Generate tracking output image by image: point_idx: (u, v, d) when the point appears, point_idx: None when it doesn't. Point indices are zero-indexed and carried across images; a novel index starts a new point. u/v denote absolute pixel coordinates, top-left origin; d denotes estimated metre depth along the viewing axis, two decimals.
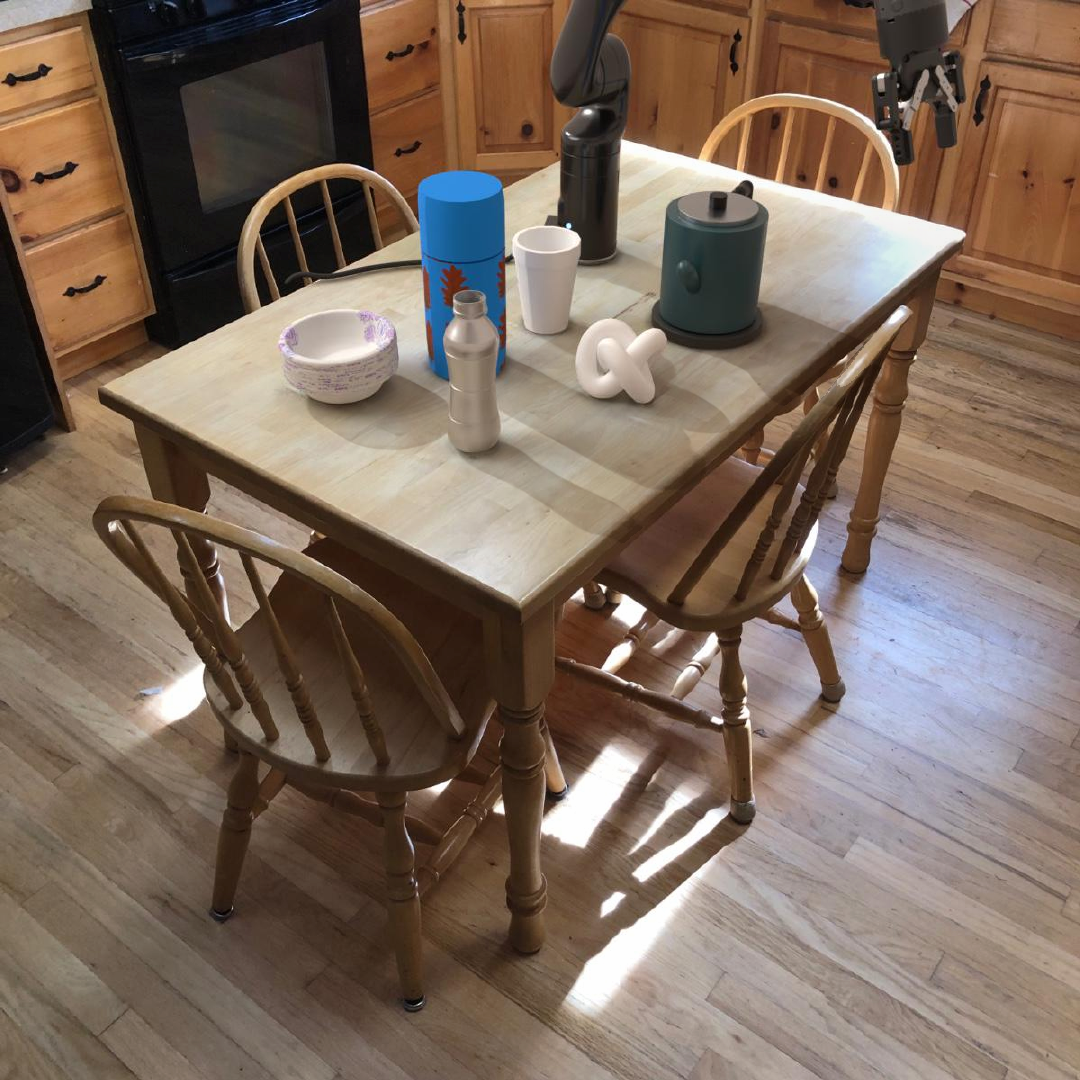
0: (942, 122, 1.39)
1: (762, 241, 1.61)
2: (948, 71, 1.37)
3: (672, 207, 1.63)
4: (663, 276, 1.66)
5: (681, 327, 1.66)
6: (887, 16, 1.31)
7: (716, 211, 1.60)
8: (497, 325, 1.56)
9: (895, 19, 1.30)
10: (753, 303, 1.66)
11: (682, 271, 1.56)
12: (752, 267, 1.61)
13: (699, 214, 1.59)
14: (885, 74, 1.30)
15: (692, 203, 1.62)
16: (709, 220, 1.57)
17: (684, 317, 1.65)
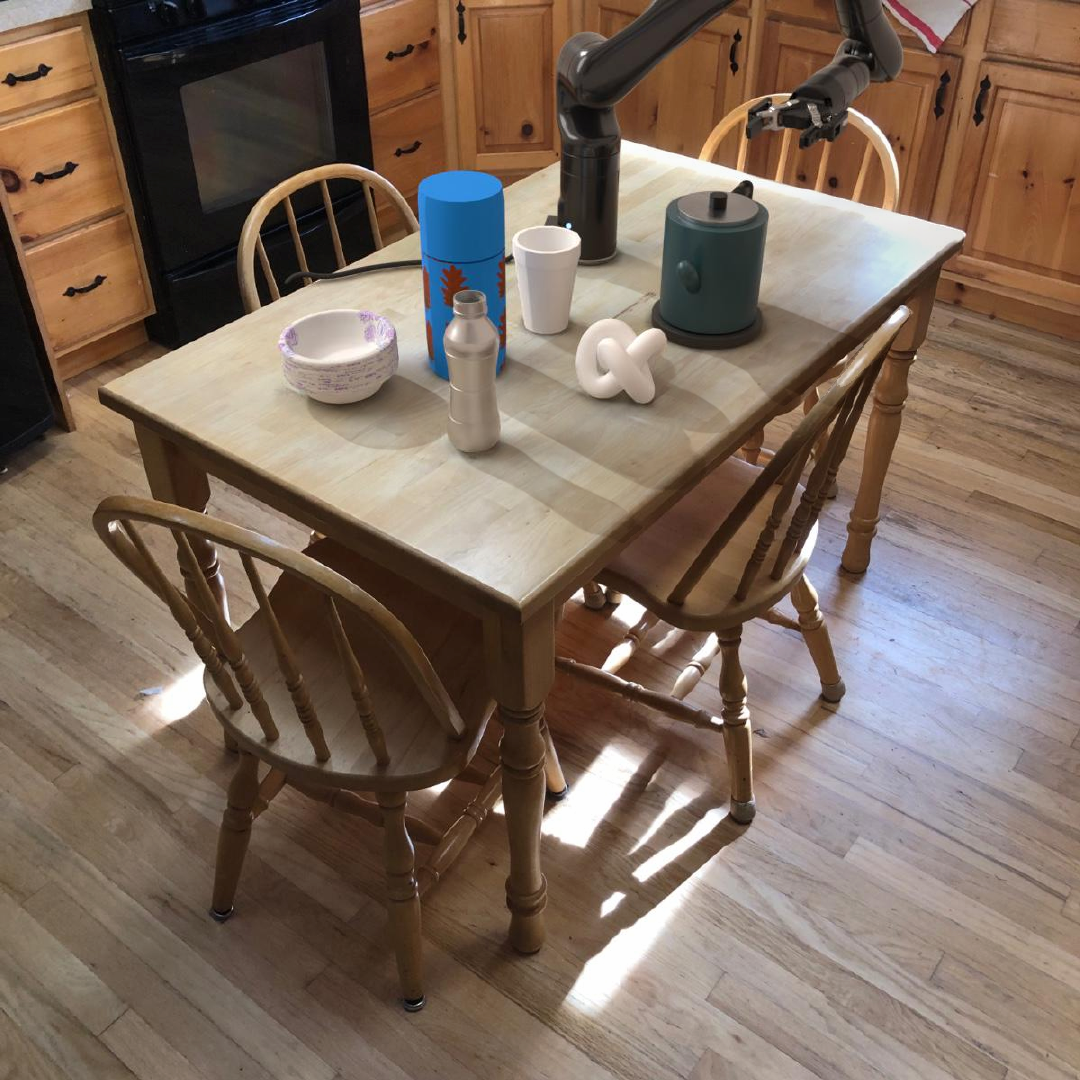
0: (760, 125, 1.77)
1: (762, 241, 1.61)
2: None
3: (672, 207, 1.63)
4: (663, 276, 1.66)
5: (681, 327, 1.66)
6: (845, 99, 1.80)
7: (716, 211, 1.60)
8: (497, 325, 1.56)
9: (843, 106, 1.81)
10: (753, 303, 1.66)
11: (682, 271, 1.56)
12: (752, 267, 1.61)
13: (699, 214, 1.59)
14: (846, 122, 1.76)
15: (692, 203, 1.62)
16: (709, 220, 1.57)
17: (684, 317, 1.65)
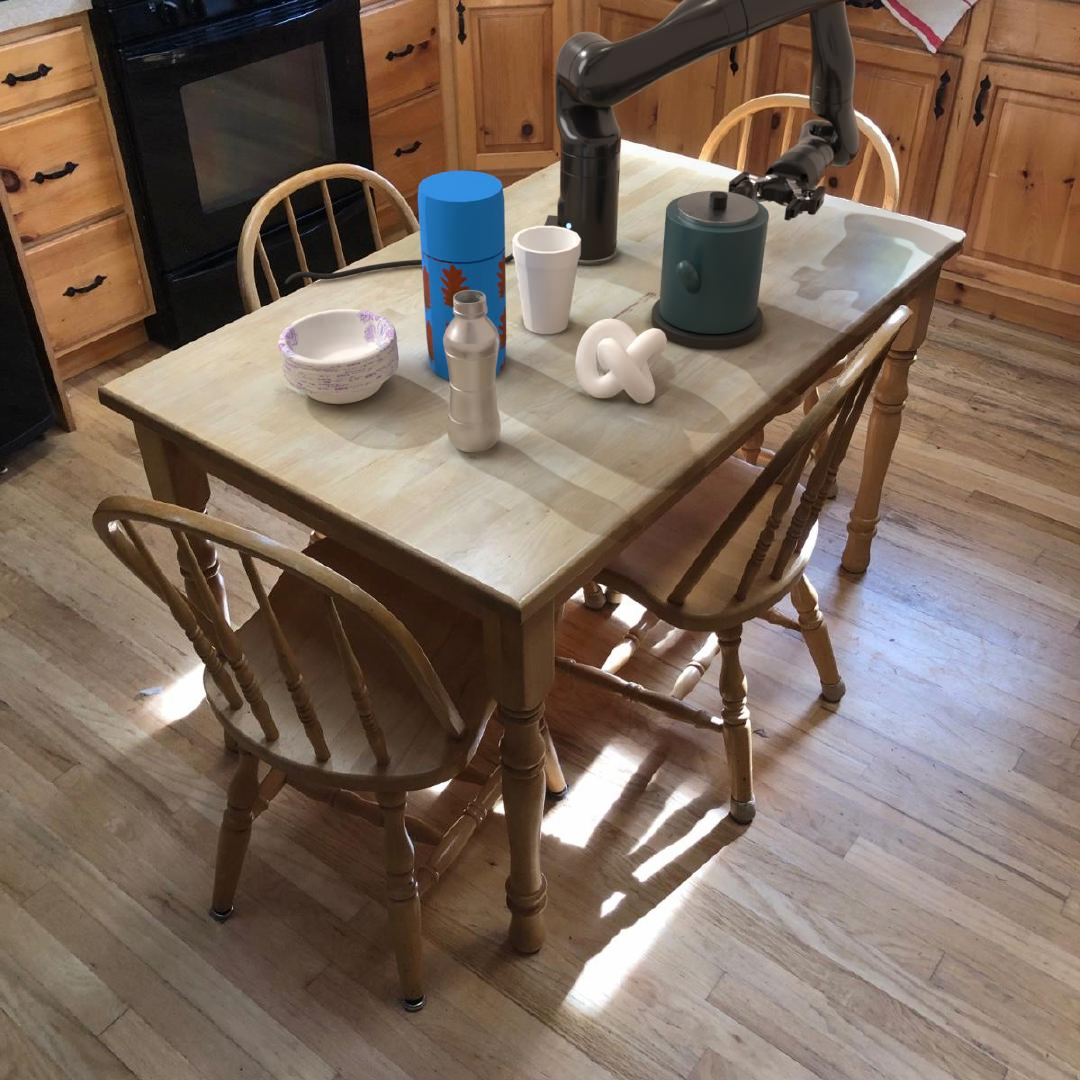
0: None
1: (762, 241, 1.61)
2: None
3: (672, 207, 1.63)
4: (663, 276, 1.66)
5: (681, 327, 1.66)
6: (817, 176, 1.88)
7: (716, 211, 1.60)
8: (497, 325, 1.56)
9: (815, 183, 1.89)
10: (753, 303, 1.66)
11: (682, 271, 1.56)
12: (752, 267, 1.61)
13: (699, 214, 1.59)
14: None
15: (692, 203, 1.62)
16: (709, 220, 1.57)
17: (684, 317, 1.65)
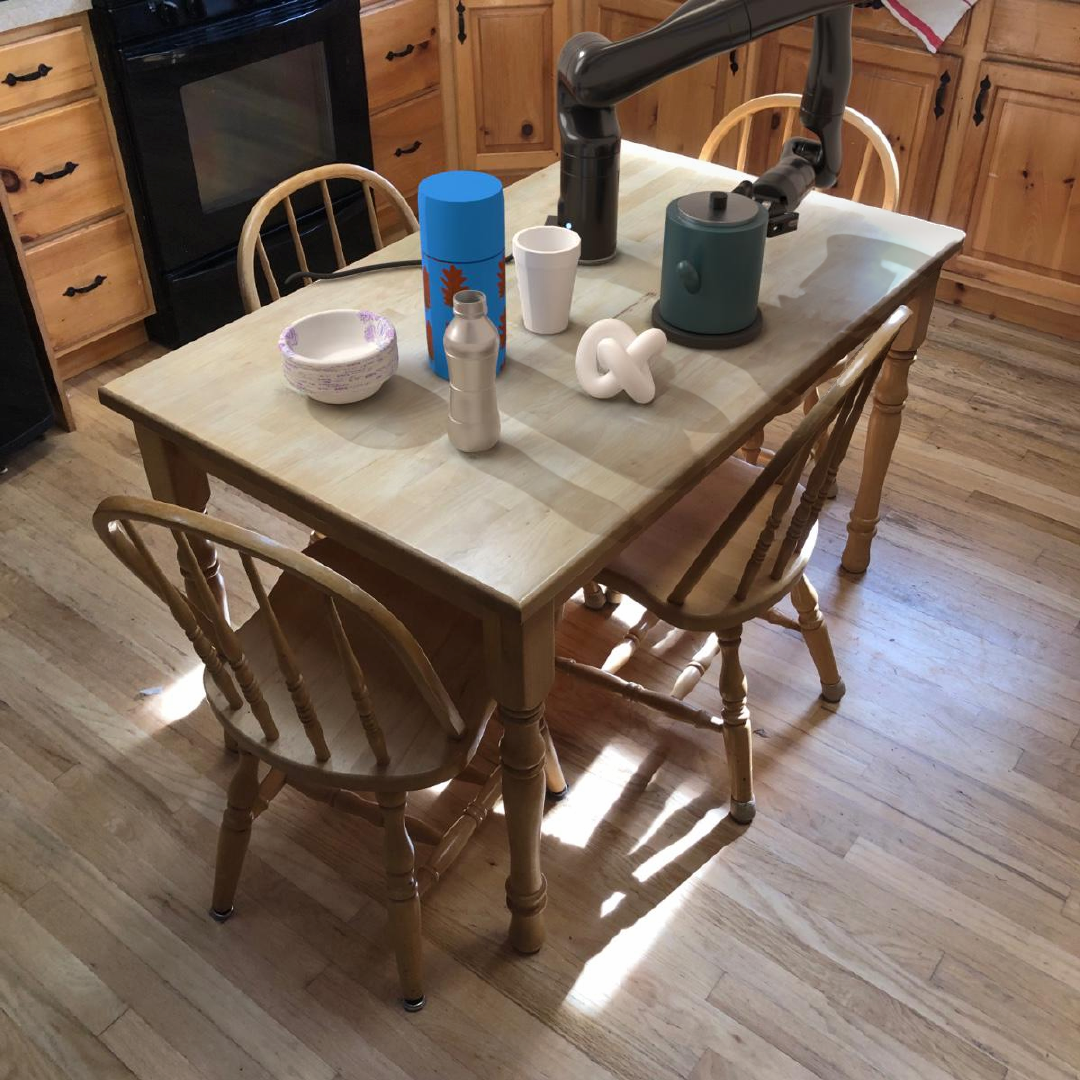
0: None
1: (762, 241, 1.61)
2: None
3: (672, 207, 1.63)
4: (663, 276, 1.66)
5: (681, 327, 1.66)
6: (798, 198, 1.81)
7: (716, 211, 1.60)
8: (497, 325, 1.56)
9: (795, 205, 1.82)
10: (753, 303, 1.66)
11: (682, 271, 1.56)
12: (752, 267, 1.61)
13: (699, 214, 1.59)
14: (797, 225, 1.76)
15: (692, 203, 1.62)
16: (709, 220, 1.57)
17: (684, 317, 1.65)
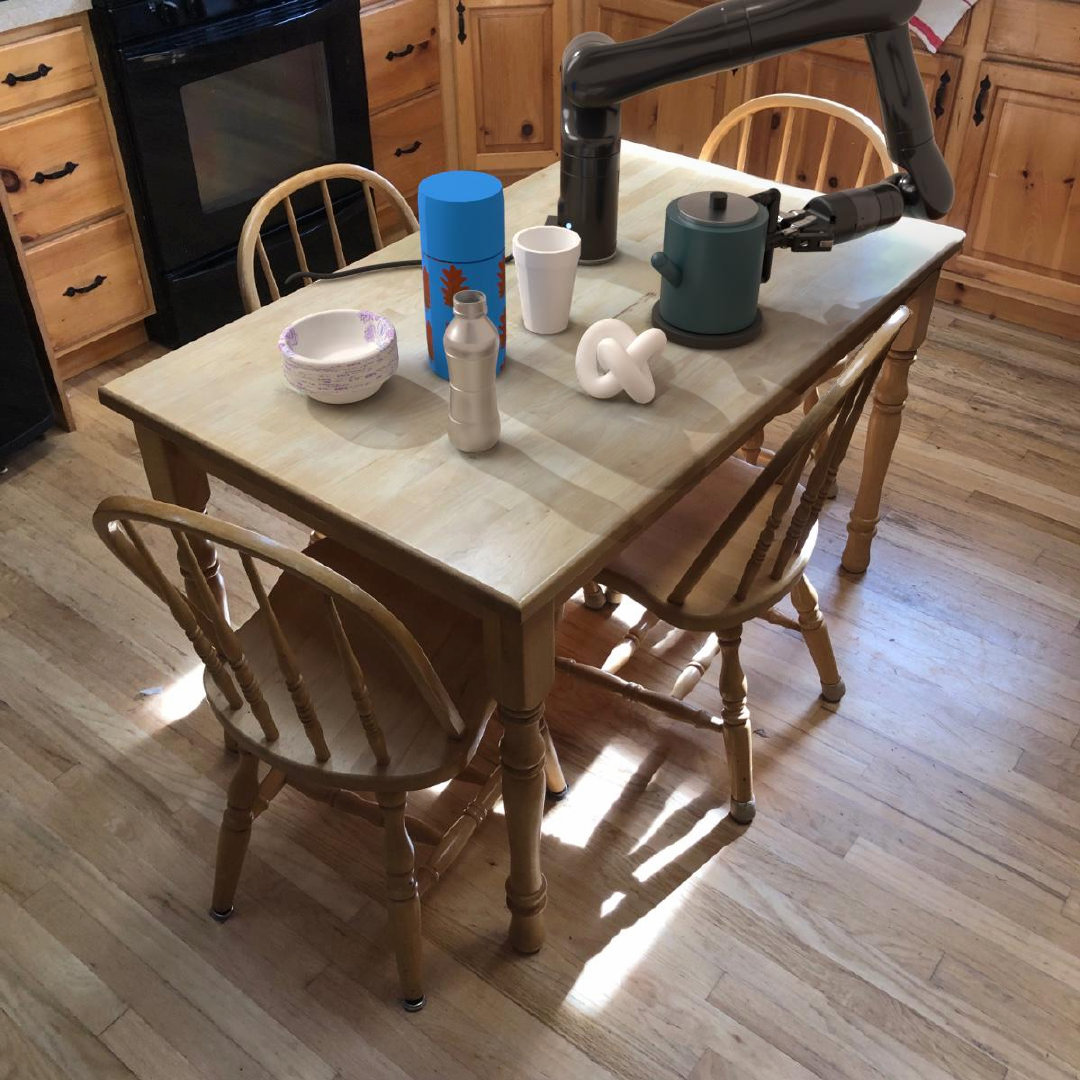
0: None
1: (750, 247, 1.59)
2: None
3: (678, 200, 1.65)
4: None
5: (666, 320, 1.68)
6: (858, 223, 1.74)
7: (710, 210, 1.60)
8: (497, 325, 1.56)
9: (854, 230, 1.75)
10: (740, 310, 1.64)
11: (653, 262, 1.59)
12: (735, 272, 1.60)
13: (691, 210, 1.60)
14: (831, 246, 1.70)
15: (696, 199, 1.63)
16: (694, 217, 1.58)
17: (669, 310, 1.67)
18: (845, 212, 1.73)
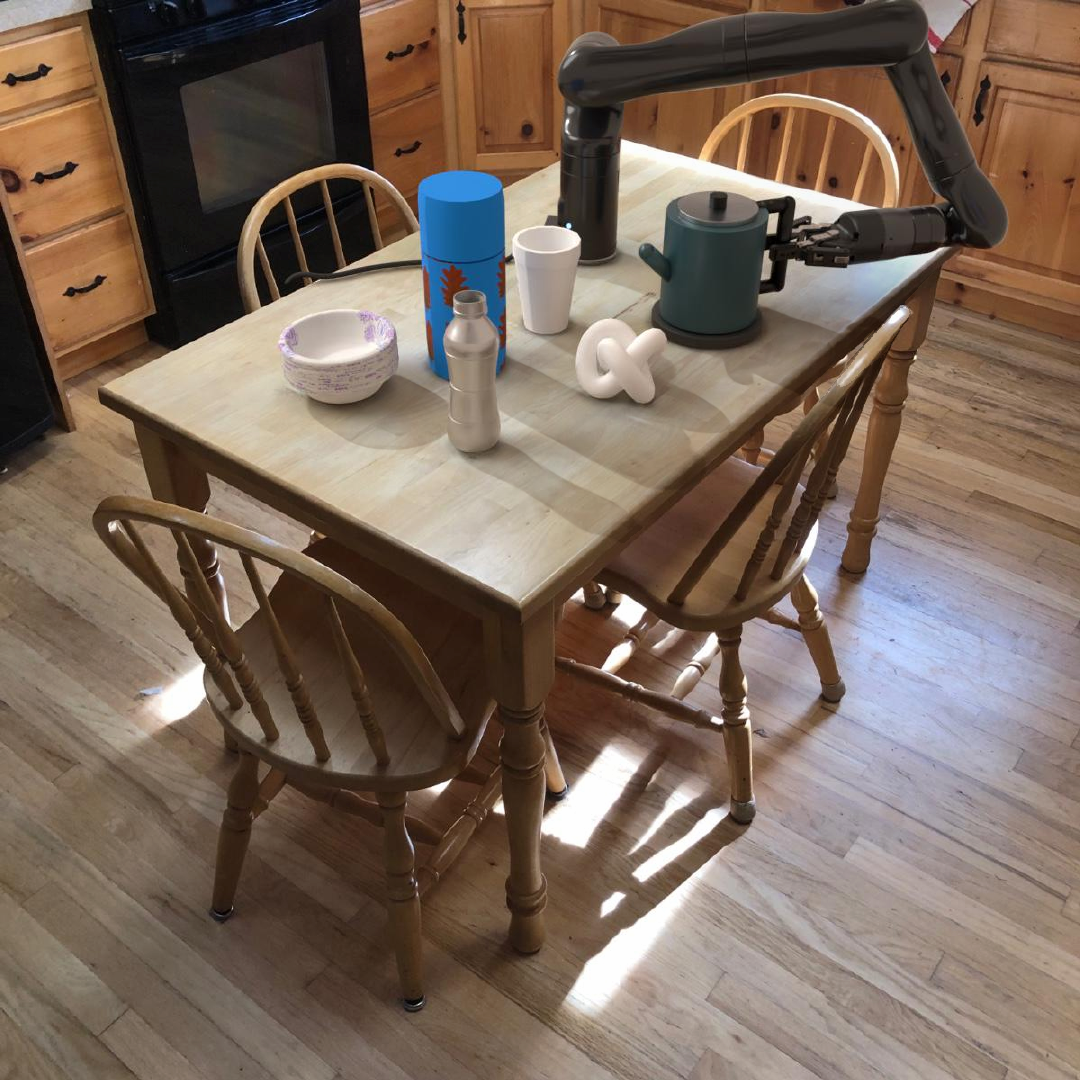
0: None
1: (737, 250, 1.58)
2: None
3: None
4: None
5: (660, 313, 1.70)
6: (885, 243, 1.69)
7: (707, 209, 1.60)
8: (497, 325, 1.56)
9: (881, 250, 1.69)
10: (727, 312, 1.64)
11: (639, 252, 1.61)
12: (720, 273, 1.60)
13: (688, 206, 1.61)
14: (846, 263, 1.65)
15: (701, 197, 1.64)
16: (686, 213, 1.59)
17: (662, 303, 1.68)
18: (870, 230, 1.67)
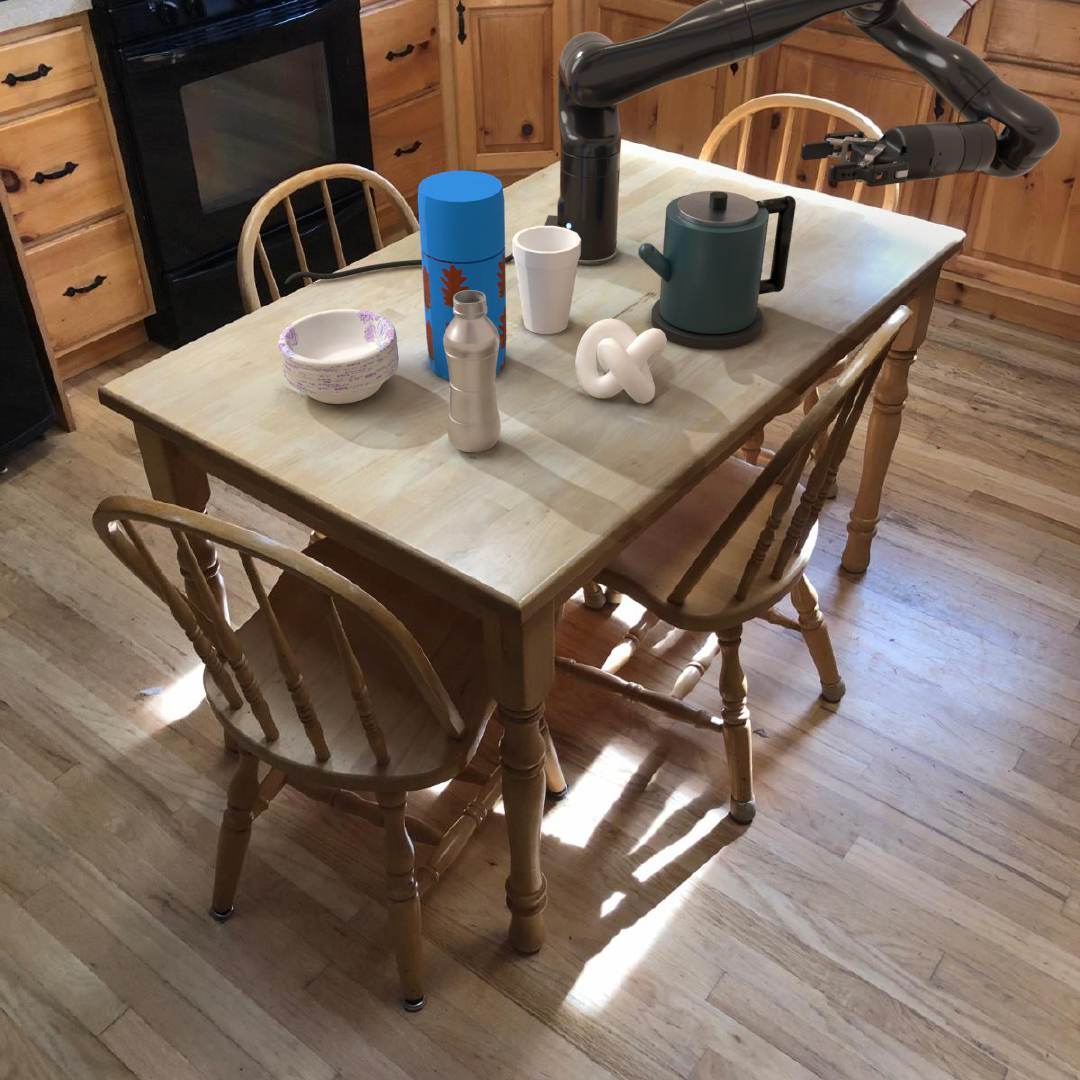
0: (822, 149, 1.65)
1: (737, 250, 1.58)
2: None
3: None
4: None
5: (660, 313, 1.70)
6: (934, 158, 1.62)
7: (707, 209, 1.60)
8: (497, 325, 1.56)
9: (929, 165, 1.62)
10: (727, 312, 1.64)
11: (639, 252, 1.61)
12: (720, 273, 1.60)
13: (688, 206, 1.61)
14: (906, 176, 1.59)
15: (701, 197, 1.64)
16: (686, 213, 1.59)
17: (662, 303, 1.68)
18: (919, 144, 1.61)
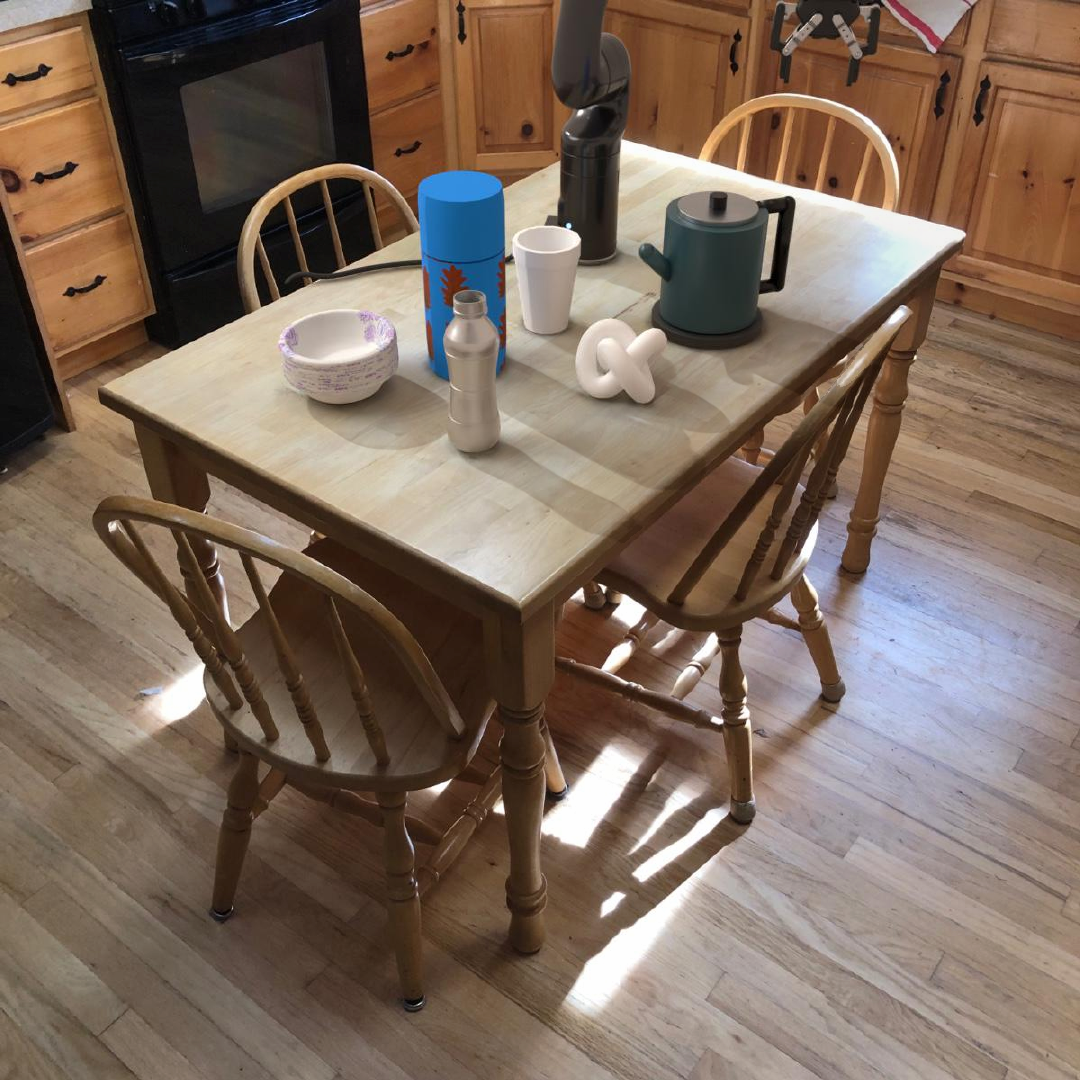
0: None
1: (737, 250, 1.58)
2: None
3: None
4: None
5: (660, 313, 1.70)
6: None
7: (707, 209, 1.60)
8: (497, 325, 1.56)
9: None
10: (727, 312, 1.64)
11: (639, 252, 1.61)
12: (720, 273, 1.60)
13: (688, 206, 1.61)
14: (878, 5, 1.57)
15: (701, 197, 1.64)
16: (686, 213, 1.59)
17: (662, 303, 1.68)
18: None
